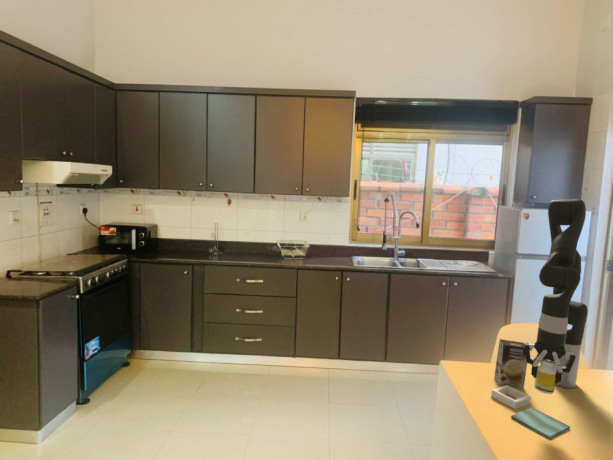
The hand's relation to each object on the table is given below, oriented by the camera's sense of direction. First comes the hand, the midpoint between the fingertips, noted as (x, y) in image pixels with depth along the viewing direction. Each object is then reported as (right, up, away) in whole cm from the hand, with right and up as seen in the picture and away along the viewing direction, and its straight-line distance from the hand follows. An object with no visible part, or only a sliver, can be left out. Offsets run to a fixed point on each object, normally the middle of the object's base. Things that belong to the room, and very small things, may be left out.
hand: (545, 379), depth 124 cm
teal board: (-1, -15, +1) cm, 15 cm away
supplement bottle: (0, -4, 0) cm, 4 cm away
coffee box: (+3, -12, +28) cm, 31 cm away
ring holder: (-3, -13, +15) cm, 20 cm away
